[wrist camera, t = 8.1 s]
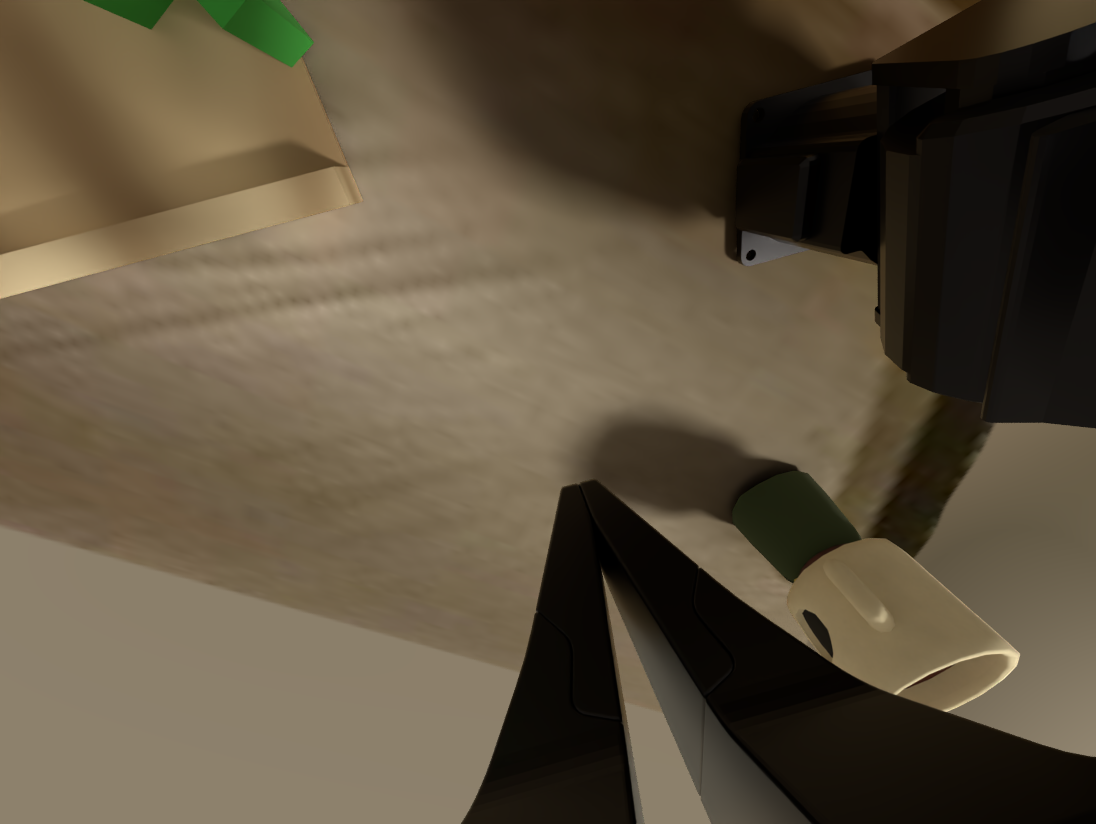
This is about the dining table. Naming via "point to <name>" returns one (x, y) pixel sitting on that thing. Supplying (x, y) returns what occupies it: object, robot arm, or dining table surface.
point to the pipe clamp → (231, 22)
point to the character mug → (870, 599)
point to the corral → (148, 140)
